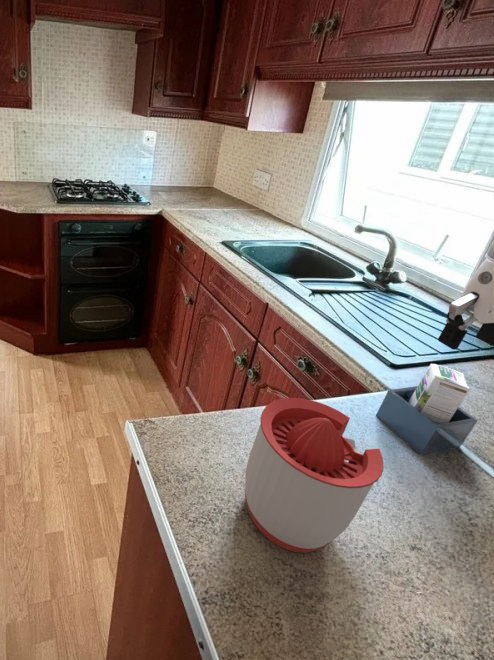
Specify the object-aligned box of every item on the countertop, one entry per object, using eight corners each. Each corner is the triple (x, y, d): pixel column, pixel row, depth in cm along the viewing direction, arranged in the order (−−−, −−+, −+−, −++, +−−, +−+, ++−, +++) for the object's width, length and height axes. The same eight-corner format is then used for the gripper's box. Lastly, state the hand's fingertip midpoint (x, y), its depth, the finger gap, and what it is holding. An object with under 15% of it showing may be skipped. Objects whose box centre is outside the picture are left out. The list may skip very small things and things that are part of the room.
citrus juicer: (373, 558, 58) (436, 461, 49) (265, 577, 54) (311, 475, 45) (307, 467, 71) (347, 378, 63) (217, 477, 68) (246, 384, 59)
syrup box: (398, 416, 86) (429, 361, 80) (431, 428, 84) (465, 372, 77) (401, 433, 82) (433, 376, 75) (435, 446, 79) (471, 388, 73)
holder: (412, 409, 89) (426, 384, 86) (460, 447, 80) (478, 420, 77) (375, 415, 86) (388, 389, 83) (420, 455, 77) (437, 428, 74)
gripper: (506, 265, 60) (451, 359, 67) (580, 264, 65) (521, 352, 72) (457, 247, 66) (412, 334, 74) (527, 247, 71) (478, 329, 79)
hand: (466, 343), depth 73 cm, fingers open, 9 cm apart
